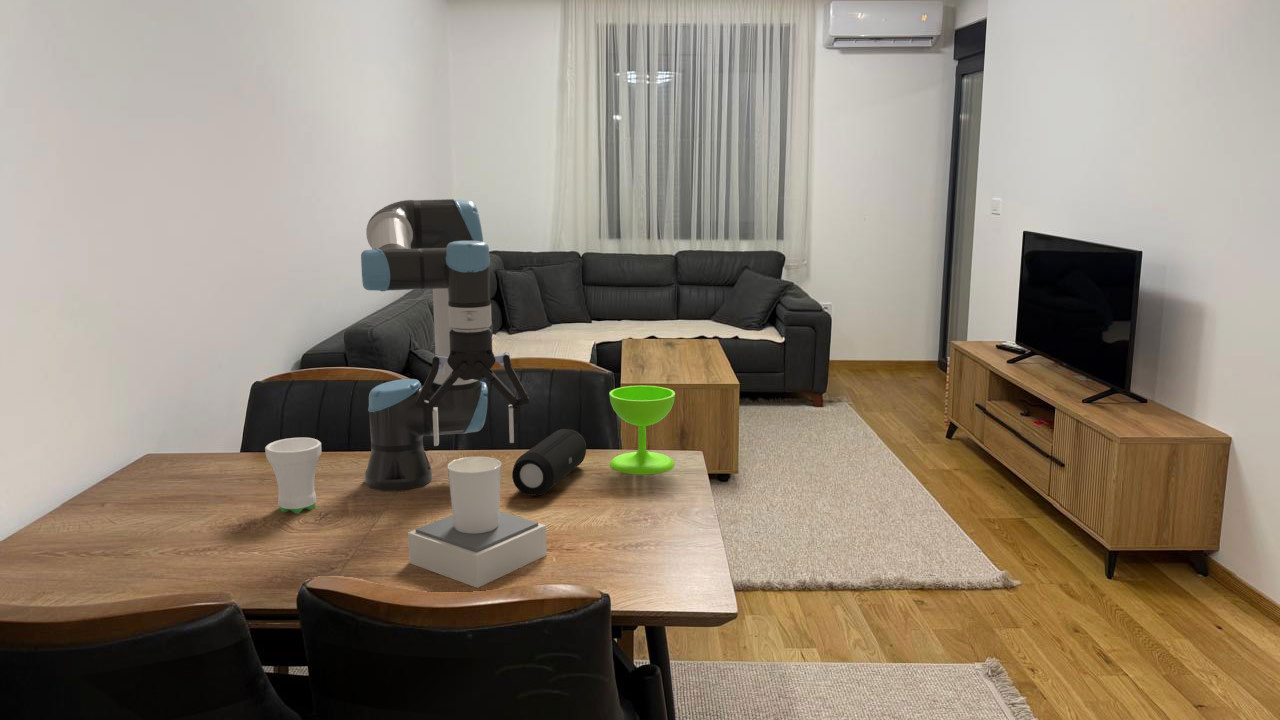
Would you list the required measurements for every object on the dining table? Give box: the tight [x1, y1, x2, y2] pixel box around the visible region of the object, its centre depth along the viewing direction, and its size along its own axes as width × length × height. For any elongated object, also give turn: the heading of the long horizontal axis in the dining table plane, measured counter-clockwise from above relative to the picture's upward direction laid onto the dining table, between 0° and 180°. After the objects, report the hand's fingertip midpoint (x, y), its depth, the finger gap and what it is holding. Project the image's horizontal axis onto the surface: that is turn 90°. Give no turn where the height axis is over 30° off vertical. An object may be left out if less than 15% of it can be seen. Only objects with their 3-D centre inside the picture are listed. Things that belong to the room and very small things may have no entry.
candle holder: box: [446, 456, 502, 534], centre depth 182 cm, size 10×10×12 cm
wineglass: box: [608, 385, 676, 476], centre depth 239 cm, size 16×16×18 cm
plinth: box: [407, 511, 548, 589], centre depth 184 cm, size 18×18×7 cm
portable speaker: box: [511, 428, 587, 497], centre depth 228 cm, size 26×10×10 cm, turn 163°
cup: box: [264, 437, 322, 515], centre depth 209 cm, size 11×11×14 cm
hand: (474, 442), depth 180 cm, fingers open, 13 cm apart
